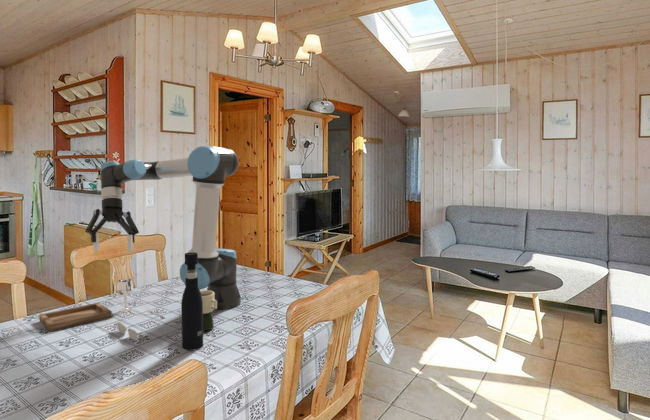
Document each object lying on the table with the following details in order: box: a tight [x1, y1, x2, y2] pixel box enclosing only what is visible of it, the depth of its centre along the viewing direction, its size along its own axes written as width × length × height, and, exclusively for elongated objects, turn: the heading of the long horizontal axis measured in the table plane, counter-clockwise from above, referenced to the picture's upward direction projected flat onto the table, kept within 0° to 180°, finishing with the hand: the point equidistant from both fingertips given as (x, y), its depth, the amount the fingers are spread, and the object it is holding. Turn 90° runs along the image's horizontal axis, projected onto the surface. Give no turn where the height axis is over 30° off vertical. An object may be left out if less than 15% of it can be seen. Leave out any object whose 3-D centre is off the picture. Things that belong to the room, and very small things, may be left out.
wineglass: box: [116, 278, 134, 313], centre depth 167 cm, size 6×6×12 cm
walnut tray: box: [39, 302, 113, 333], centre depth 156 cm, size 14×20×2 cm
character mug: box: [200, 290, 218, 332], centre depth 148 cm, size 11×7×13 cm, turn 66°
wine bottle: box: [180, 252, 204, 351], centre depth 133 cm, size 6×6×30 cm
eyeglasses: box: [116, 313, 182, 342], centre depth 148 cm, size 15×18×4 cm
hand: (114, 251), depth 168 cm, fingers open, 13 cm apart
